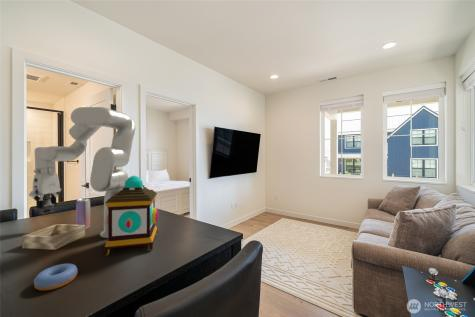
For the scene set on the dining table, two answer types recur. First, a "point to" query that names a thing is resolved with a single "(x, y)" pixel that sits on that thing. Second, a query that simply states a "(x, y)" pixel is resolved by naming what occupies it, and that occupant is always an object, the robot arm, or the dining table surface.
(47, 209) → the salt shaker
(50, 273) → the doughnut
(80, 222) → the beverage can
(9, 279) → the dining table surface
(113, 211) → the decorative lantern
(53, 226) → the box
